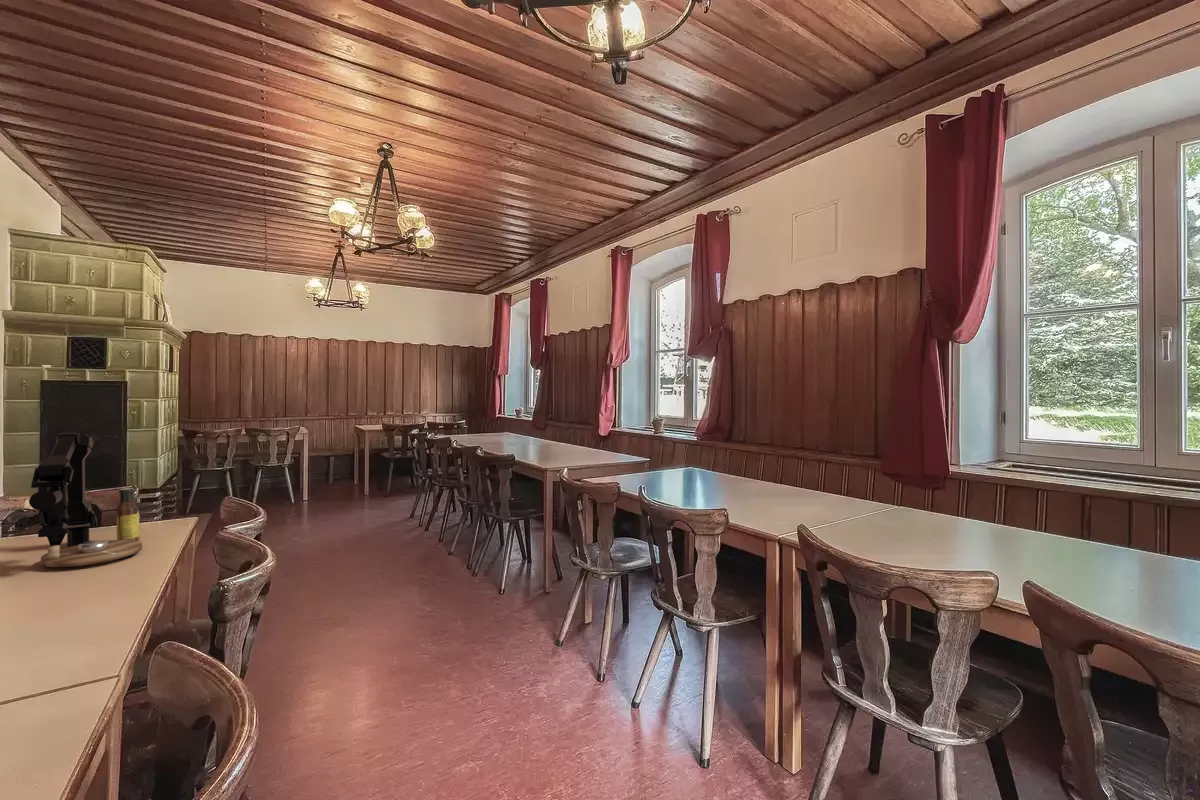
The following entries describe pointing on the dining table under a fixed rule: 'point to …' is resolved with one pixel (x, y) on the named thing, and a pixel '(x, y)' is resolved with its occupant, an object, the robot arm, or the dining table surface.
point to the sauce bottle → (127, 516)
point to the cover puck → (93, 546)
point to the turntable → (89, 554)
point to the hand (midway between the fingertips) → (54, 551)
